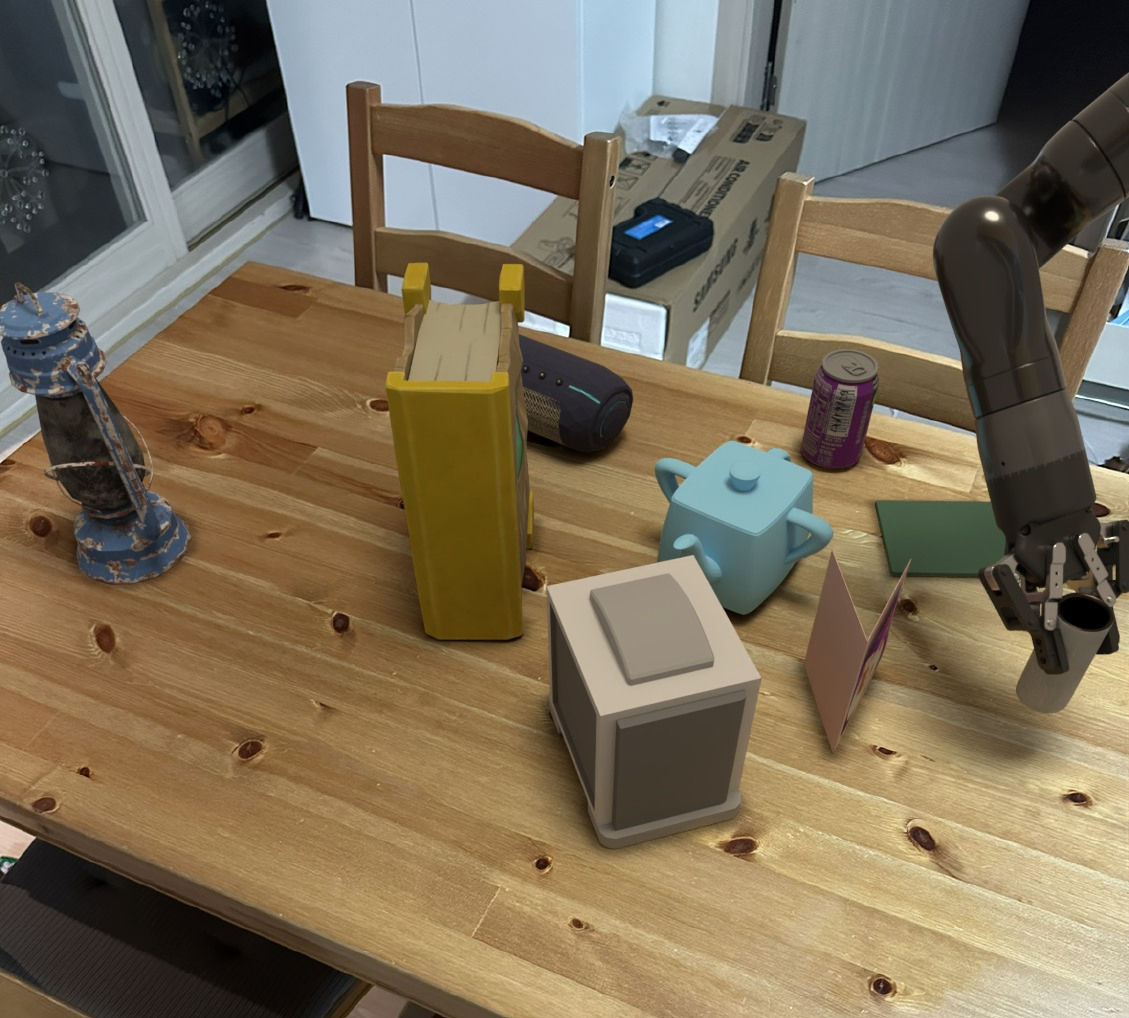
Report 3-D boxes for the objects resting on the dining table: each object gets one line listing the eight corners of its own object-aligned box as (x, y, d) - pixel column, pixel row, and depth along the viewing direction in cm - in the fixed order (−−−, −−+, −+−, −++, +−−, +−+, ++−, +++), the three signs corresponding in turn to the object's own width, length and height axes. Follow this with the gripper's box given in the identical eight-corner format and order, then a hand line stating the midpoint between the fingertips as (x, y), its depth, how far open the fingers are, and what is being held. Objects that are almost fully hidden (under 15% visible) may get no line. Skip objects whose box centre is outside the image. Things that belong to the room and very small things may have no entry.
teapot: (646, 524, 119) (652, 421, 108) (790, 516, 119) (810, 413, 109) (665, 641, 108) (674, 539, 97) (825, 632, 108) (851, 529, 98)
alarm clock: (744, 815, 94) (774, 678, 80) (603, 852, 92) (608, 717, 78) (672, 670, 105) (688, 525, 91) (545, 699, 103) (540, 556, 89)
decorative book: (525, 644, 108) (510, 380, 84) (417, 642, 108) (372, 378, 84) (537, 517, 120) (527, 255, 96) (440, 515, 120) (406, 254, 97)
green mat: (998, 505, 120) (1000, 501, 120) (1023, 578, 113) (1025, 574, 112) (874, 504, 121) (875, 499, 120) (890, 576, 113) (892, 571, 113)
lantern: (48, 542, 118) (-85, 283, 95) (142, 490, 124) (38, 233, 100) (125, 607, 112) (3, 346, 88) (221, 549, 117) (130, 288, 94)
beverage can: (872, 459, 126) (896, 368, 116) (828, 481, 123) (849, 390, 114) (831, 430, 129) (851, 339, 120) (787, 450, 127) (804, 359, 117)
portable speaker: (428, 407, 133) (419, 334, 125) (477, 370, 138) (471, 297, 130) (594, 478, 124) (595, 403, 116) (640, 435, 129) (643, 361, 121)
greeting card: (841, 757, 98) (877, 644, 86) (767, 727, 101) (792, 614, 89) (882, 677, 104) (920, 561, 93) (811, 650, 107) (840, 535, 95)
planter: (1009, 675, 95) (1049, 591, 87) (1061, 675, 95) (1105, 591, 87) (1021, 714, 92) (1063, 631, 84) (1074, 714, 92) (1121, 631, 84)
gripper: (992, 477, 79) (1046, 692, 82) (1140, 426, 83) (1186, 634, 86) (931, 493, 87) (982, 690, 89) (1068, 446, 90) (1114, 637, 93)
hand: (1082, 662), depth 87 cm, fingers closed on planter, 4 cm apart
